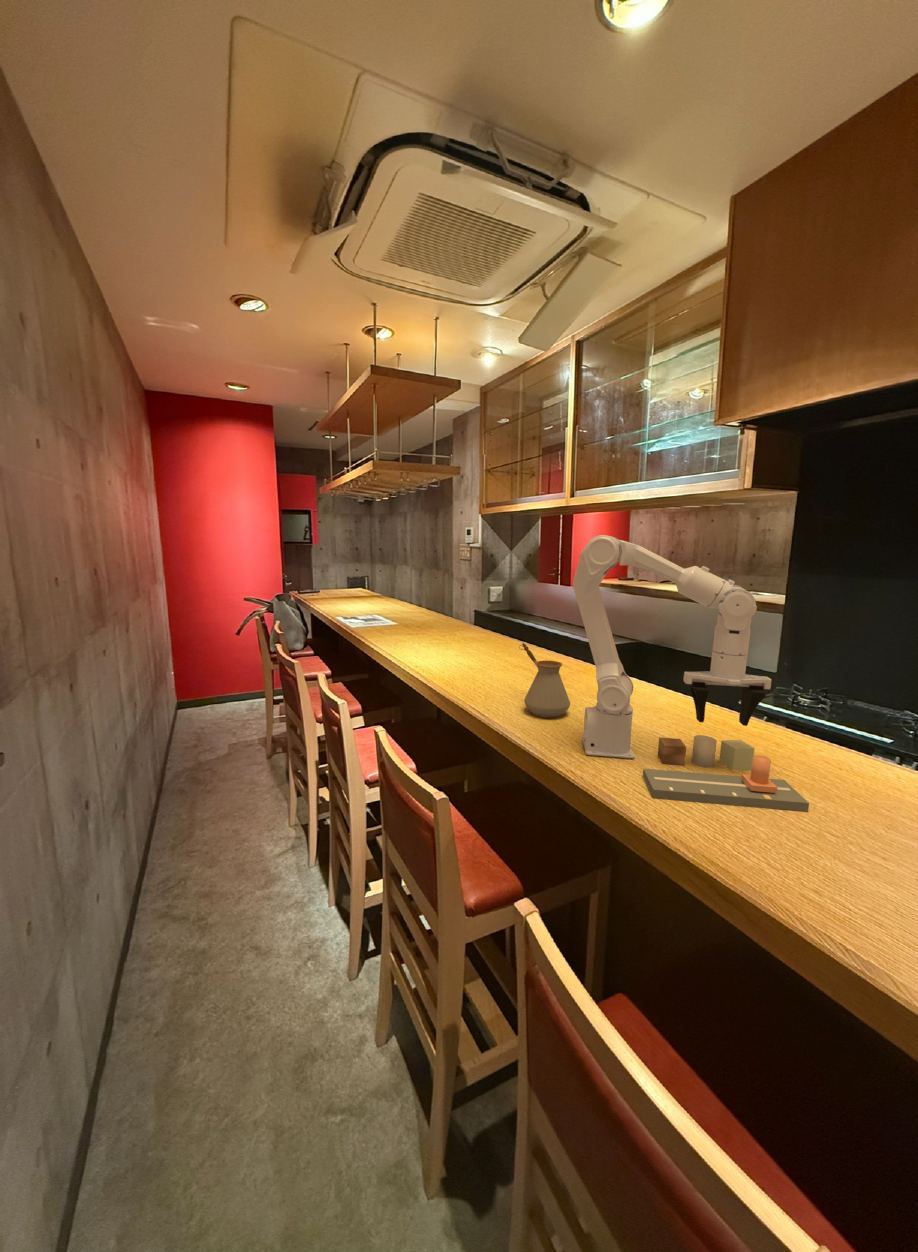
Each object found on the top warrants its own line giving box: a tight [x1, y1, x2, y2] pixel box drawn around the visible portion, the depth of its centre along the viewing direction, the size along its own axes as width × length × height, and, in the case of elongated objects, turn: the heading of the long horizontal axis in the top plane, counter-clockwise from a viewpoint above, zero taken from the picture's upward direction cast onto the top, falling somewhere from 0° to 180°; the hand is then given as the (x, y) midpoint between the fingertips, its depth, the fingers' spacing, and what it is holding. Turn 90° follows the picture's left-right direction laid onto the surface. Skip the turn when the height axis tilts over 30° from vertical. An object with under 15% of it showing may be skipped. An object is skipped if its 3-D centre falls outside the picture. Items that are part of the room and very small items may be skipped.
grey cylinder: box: [691, 734, 717, 769], centre depth 96 cm, size 4×4×5 cm
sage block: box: [718, 739, 755, 772], centre depth 95 cm, size 4×4×4 cm
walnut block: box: [657, 737, 687, 767], centre depth 97 cm, size 4×4×4 cm
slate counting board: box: [642, 767, 810, 813], centre depth 84 cm, size 24×8×2 cm, turn 81°
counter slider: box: [740, 754, 777, 793], centre depth 83 cm, size 4×4×5 cm
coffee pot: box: [518, 642, 571, 719], centre depth 127 cm, size 21×12×15 cm, turn 18°
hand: (721, 722), depth 92 cm, fingers open, 7 cm apart
